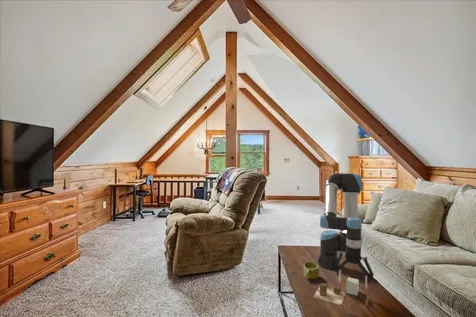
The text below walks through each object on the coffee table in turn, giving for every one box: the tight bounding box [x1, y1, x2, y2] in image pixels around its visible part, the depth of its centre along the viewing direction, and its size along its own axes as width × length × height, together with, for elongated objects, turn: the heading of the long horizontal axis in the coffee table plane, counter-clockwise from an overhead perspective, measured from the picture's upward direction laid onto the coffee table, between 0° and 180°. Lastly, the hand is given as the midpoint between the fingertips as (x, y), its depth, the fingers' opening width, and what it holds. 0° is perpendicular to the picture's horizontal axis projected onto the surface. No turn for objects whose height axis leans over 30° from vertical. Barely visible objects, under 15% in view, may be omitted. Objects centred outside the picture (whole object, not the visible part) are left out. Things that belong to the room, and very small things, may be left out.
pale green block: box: [345, 276, 360, 296], centre depth 144 cm, size 6×6×8 cm
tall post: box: [319, 282, 328, 297], centre depth 140 cm, size 3×3×6 cm
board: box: [313, 285, 346, 306], centre depth 140 cm, size 14×14×4 cm
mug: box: [303, 261, 320, 280], centre depth 162 cm, size 12×10×10 cm
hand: (352, 284), depth 143 cm, fingers open, 13 cm apart
